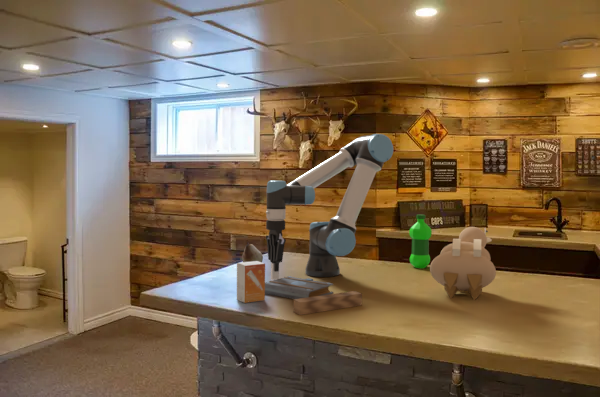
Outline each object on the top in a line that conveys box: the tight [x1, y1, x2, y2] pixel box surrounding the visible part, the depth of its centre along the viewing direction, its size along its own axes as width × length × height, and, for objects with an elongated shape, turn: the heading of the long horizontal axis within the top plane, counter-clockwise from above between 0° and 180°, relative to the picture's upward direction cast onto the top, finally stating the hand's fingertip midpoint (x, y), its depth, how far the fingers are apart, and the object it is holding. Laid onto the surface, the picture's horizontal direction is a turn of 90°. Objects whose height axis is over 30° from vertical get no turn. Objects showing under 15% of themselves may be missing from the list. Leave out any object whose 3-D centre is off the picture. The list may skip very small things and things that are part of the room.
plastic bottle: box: [408, 214, 432, 269], centre depth 231 cm, size 10×10×25 cm
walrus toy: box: [429, 226, 497, 301], centre depth 179 cm, size 30×28×23 cm
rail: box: [293, 290, 363, 316], centre depth 160 cm, size 24×4×4 cm, turn 120°
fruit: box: [242, 241, 264, 263], centre depth 227 cm, size 10×9×12 cm
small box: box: [236, 261, 266, 304], centre depth 170 cm, size 8×6×13 cm
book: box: [265, 275, 334, 300], centre depth 180 cm, size 21×16×5 cm
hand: (274, 278), depth 193 cm, fingers closed
